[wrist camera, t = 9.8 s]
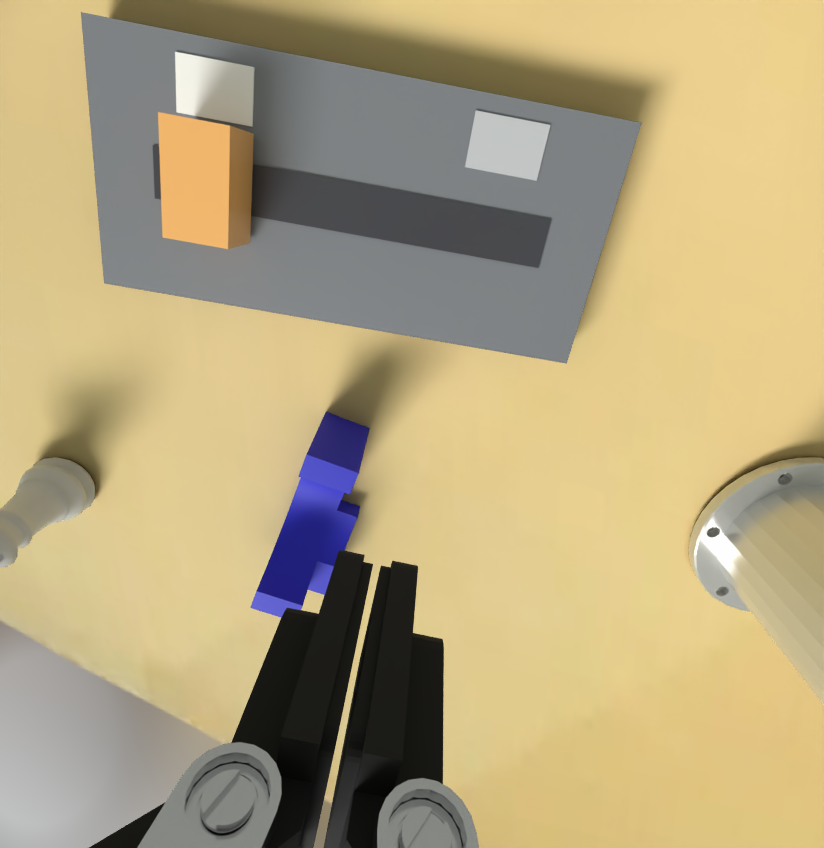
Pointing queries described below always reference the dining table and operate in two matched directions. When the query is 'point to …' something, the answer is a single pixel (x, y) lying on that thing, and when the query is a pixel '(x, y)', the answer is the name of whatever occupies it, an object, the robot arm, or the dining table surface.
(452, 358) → the dining table surface
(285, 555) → the blue curved stepped piece
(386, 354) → the dining table surface
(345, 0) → the dining table surface
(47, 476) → the rook chess piece
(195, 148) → the switch knob
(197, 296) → the switch panel
